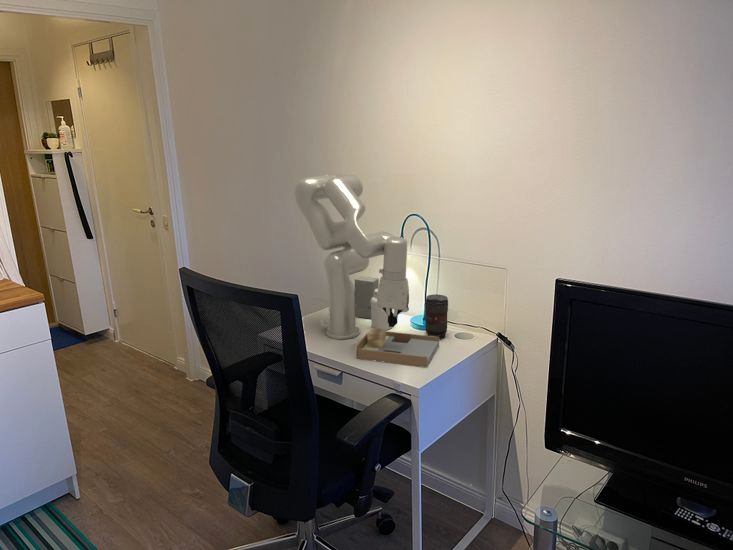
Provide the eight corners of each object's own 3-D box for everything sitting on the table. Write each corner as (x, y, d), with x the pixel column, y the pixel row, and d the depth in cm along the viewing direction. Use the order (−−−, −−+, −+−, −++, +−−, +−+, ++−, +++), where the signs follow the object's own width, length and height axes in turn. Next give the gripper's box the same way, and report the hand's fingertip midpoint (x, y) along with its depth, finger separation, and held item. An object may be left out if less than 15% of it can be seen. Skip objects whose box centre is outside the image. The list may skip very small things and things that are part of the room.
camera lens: (446, 340, 201) (447, 301, 197) (424, 339, 203) (424, 300, 199) (448, 332, 209) (448, 294, 205) (426, 331, 210) (426, 293, 206)
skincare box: (353, 317, 228) (352, 279, 223) (360, 311, 234) (359, 275, 230) (373, 319, 224) (372, 281, 220) (379, 314, 231) (379, 276, 226)
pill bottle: (382, 322, 221) (381, 285, 217) (396, 327, 215) (396, 289, 211) (367, 327, 216) (366, 290, 212) (381, 332, 210) (380, 294, 206)
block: (367, 346, 193) (367, 333, 191) (372, 341, 197) (371, 328, 196) (381, 348, 191) (381, 334, 190) (385, 342, 196) (385, 329, 194)
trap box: (356, 358, 188) (356, 344, 187) (374, 339, 205) (373, 326, 203) (426, 367, 180) (426, 352, 179) (439, 346, 197) (439, 332, 195)
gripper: (369, 274, 185) (367, 326, 190) (413, 280, 180) (410, 333, 186) (376, 268, 191) (375, 318, 197) (419, 274, 187) (416, 325, 192)
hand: (392, 325), depth 191 cm, fingers closed
